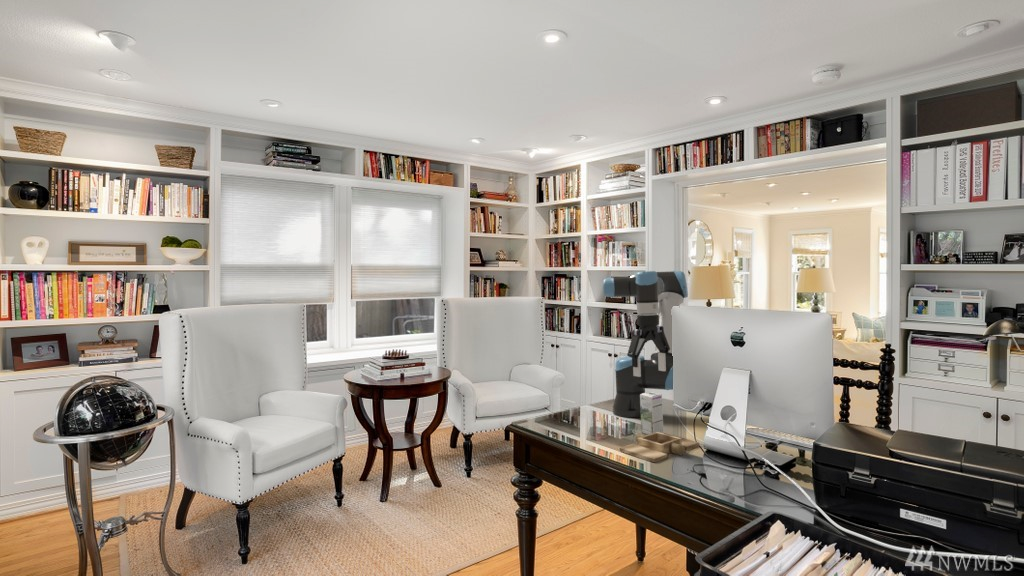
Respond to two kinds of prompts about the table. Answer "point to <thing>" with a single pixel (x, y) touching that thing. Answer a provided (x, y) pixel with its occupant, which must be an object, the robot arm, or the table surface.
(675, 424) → the table surface
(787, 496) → the table surface
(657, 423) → the syrup box
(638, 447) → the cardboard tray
